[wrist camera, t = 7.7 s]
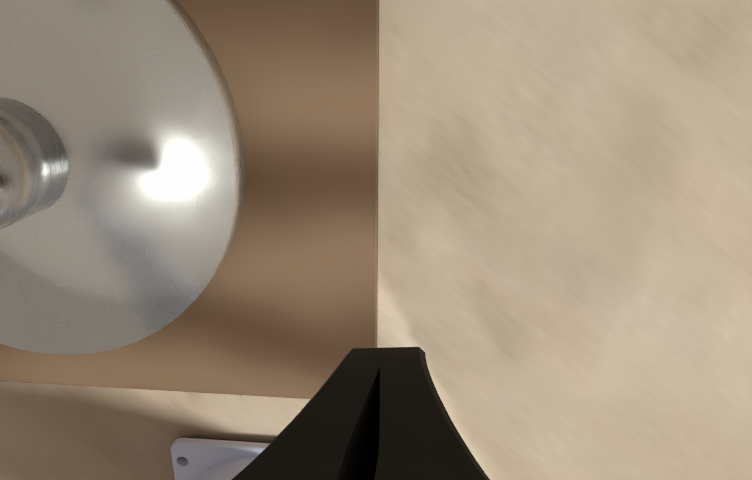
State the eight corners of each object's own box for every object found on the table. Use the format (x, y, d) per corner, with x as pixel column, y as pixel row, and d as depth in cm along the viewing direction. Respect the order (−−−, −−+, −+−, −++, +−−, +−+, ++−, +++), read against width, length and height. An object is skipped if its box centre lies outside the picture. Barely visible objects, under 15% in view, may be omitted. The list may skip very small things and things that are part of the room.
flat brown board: (376, 387, 22) (372, 419, 21) (-118, 359, 24) (-164, 386, 22) (380, -209, 15) (373, -242, 14) (-317, -187, 17) (-407, -214, 15)
